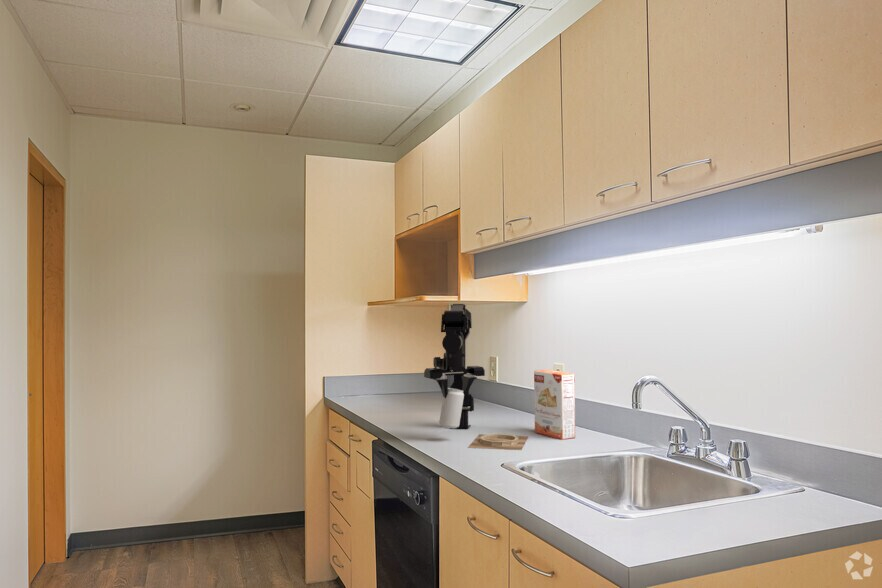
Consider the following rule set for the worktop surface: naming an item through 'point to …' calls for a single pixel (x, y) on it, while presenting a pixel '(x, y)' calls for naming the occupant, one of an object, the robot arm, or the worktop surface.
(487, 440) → the can holder
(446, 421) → the beverage can
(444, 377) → the robot arm
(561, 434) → the cracker box
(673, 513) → the worktop surface
